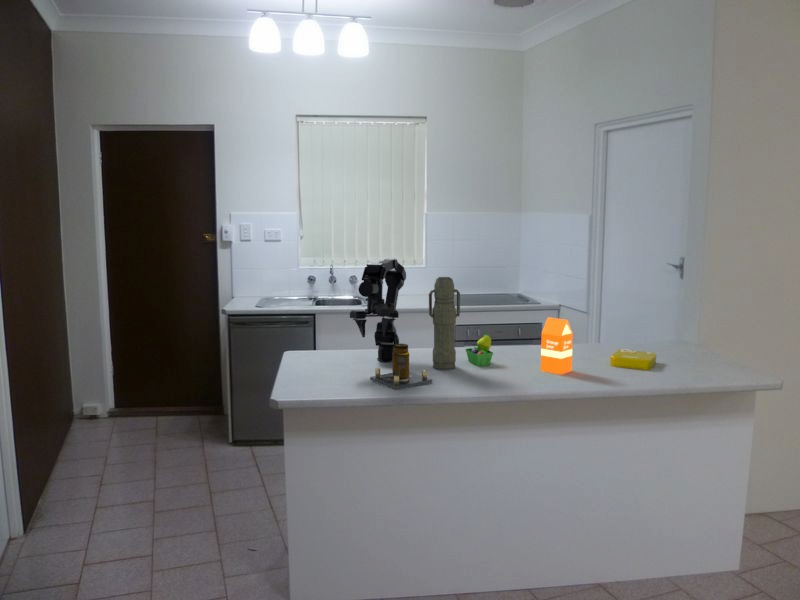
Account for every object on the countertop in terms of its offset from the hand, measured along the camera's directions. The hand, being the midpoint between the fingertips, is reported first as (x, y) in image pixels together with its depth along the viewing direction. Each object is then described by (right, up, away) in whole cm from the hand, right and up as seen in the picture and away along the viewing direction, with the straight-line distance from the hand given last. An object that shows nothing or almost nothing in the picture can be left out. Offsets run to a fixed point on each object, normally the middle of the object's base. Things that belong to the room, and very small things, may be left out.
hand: (374, 336), depth 257 cm
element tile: (+101, -12, +7) cm, 102 cm away
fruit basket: (+42, -11, +11) cm, 45 cm away
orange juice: (+69, -13, -2) cm, 70 cm away
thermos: (+27, -12, +4) cm, 30 cm away
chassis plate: (+10, -15, -16) cm, 24 cm away
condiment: (+10, -14, -16) cm, 23 cm away
